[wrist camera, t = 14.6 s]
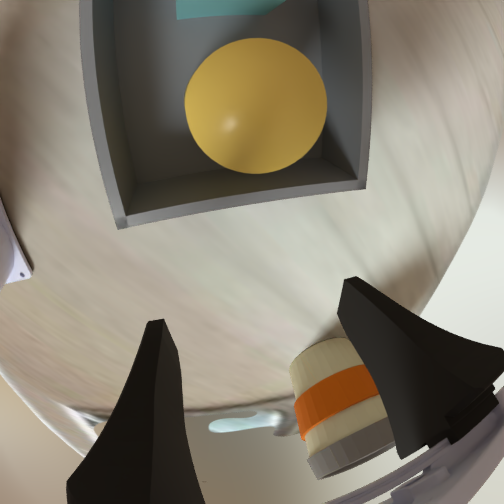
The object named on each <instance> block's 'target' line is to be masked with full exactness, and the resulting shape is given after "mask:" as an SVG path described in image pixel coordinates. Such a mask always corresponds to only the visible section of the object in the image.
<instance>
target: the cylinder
mask: <svg viewBox="0 0 504 504" xmlns="http://www.w3.org/2000/svg"><path fill="white" fill-rule="evenodd" d="M184 106H185V112H186V117H187V122H188V125H189V129H190V131H191V133H192V135H193V138H194V139H195V141H196V142H197V144H198V146H199V147H200V148H201V149H202V150H203V151H204V153H205V154H206V155H208V156H209V157H210V158H211V159H212V160H214V161H215V162H217V163H218V164H220V165H222V166H224V167H226V168H228V169H231V170H234V171H237V172H242V173H250V174H262V173H269V172H273V171H277V170H280V169H282V168H285V167H287V166H289V165H291V164H293V163H295V162H296V161H297V160H299V159H300V158H302V157H303V156H304V155H305V154H306V153H307V152H308V151H309V150H310V149H311V147H312V146H313V145H314V144H315V142H316V141H317V139H318V137H319V135H320V133H321V131H322V129H323V126H324V123H325V119H326V113H327V96H326V90H325V87H324V84H323V81H322V79H321V76H320V74H319V73H318V71H317V69H316V68H315V66H314V65H313V64H312V63H311V62H310V60H309V59H308V58H307V57H306V56H304V55H303V54H302V53H301V52H299V51H298V50H297V49H295V48H293V47H291V46H289V45H288V44H285V43H282V42H280V41H276V40H272V39H266V38H248V39H242V40H238V41H235V42H232V43H229V44H227V45H225V46H223V47H221V48H219V49H218V50H216V51H215V52H213V53H212V54H211V55H210V56H209V57H207V58H206V59H205V60H204V61H203V63H202V64H201V65H200V66H199V67H198V69H197V70H196V71H195V73H194V74H193V75H192V77H191V78H190V80H189V82H188V84H187V86H186V89H185V93H184Z"/></svg>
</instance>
